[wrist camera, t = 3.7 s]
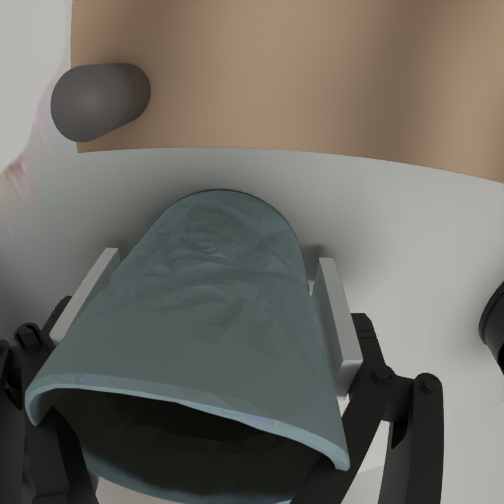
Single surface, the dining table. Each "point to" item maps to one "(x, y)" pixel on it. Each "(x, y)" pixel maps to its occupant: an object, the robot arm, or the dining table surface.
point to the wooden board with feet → (291, 78)
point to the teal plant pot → (200, 362)
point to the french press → (494, 326)
